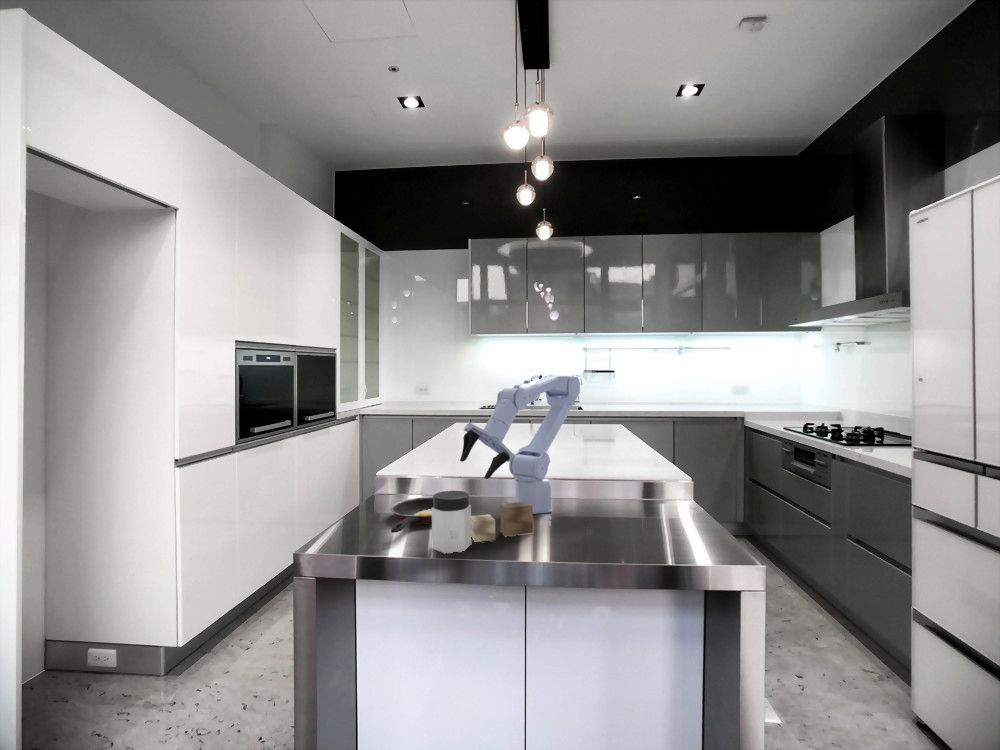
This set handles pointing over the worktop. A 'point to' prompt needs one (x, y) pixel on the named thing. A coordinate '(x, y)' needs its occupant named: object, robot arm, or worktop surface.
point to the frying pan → (412, 512)
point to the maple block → (482, 528)
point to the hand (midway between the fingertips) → (474, 469)
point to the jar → (451, 521)
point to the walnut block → (516, 518)
